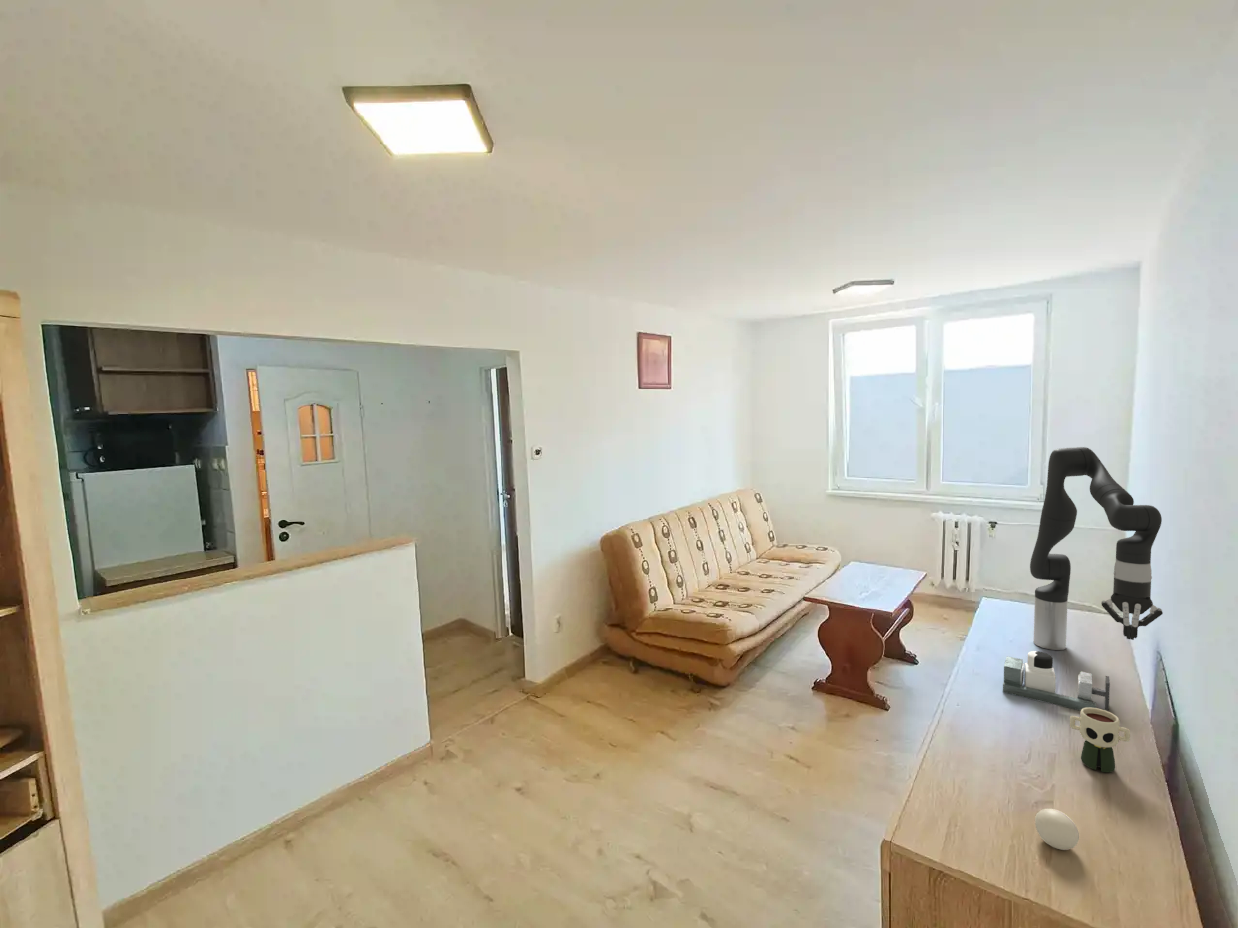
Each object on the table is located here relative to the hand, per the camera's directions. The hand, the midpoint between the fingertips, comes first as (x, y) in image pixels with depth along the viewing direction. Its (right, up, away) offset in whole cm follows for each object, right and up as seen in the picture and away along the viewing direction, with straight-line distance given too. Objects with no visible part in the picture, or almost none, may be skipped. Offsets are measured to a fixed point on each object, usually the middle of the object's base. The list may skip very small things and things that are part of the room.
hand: (1129, 638), depth 154 cm
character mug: (-26, -25, -20) cm, 41 cm away
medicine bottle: (-14, -21, +15) cm, 29 cm away
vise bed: (-13, -21, +12) cm, 28 cm away
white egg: (-54, -28, -42) cm, 74 cm away
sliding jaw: (-4, -21, +7) cm, 22 cm away
